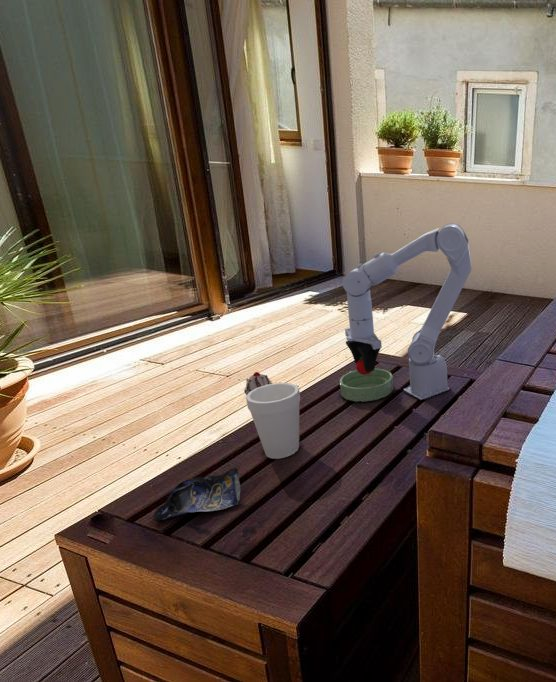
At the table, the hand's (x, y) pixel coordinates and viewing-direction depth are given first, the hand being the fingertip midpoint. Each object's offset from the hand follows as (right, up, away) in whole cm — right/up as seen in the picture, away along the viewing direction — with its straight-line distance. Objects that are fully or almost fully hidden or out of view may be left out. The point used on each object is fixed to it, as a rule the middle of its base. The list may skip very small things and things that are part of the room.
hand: (365, 368), depth 121 cm
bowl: (0, -6, +2) cm, 7 cm away
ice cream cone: (-16, -14, -19) cm, 28 cm away
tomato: (0, -1, 0) cm, 2 cm away
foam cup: (-10, -16, -25) cm, 31 cm away
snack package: (-16, -21, -41) cm, 49 cm away
